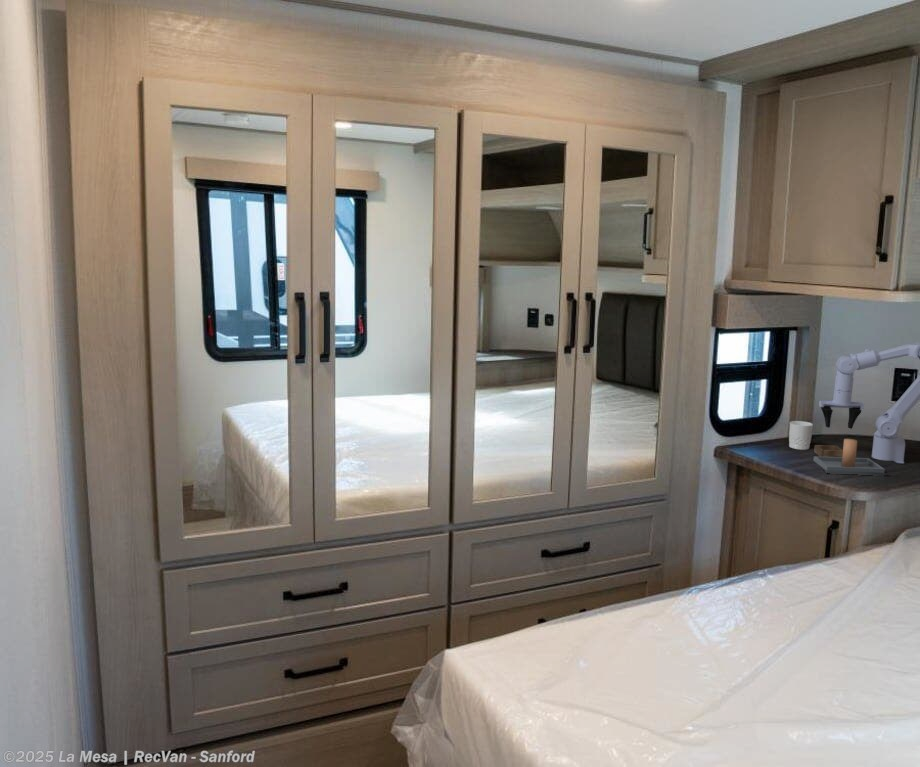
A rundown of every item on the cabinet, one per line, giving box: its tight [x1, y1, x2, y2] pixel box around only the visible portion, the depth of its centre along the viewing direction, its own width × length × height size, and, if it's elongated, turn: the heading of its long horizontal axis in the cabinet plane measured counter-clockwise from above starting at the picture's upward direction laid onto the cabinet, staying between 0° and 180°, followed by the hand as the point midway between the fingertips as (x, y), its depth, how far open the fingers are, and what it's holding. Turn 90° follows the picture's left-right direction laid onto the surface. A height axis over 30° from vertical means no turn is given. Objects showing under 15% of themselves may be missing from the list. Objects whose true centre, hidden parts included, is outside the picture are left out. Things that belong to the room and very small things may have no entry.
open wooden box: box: [813, 444, 843, 457], centre depth 272 cm, size 8×8×4 cm
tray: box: [813, 455, 886, 477], centre depth 257 cm, size 18×13×2 cm
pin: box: [841, 438, 858, 467], centre depth 256 cm, size 4×4×9 cm
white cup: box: [788, 420, 814, 451], centre depth 282 cm, size 8×8×10 cm
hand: (838, 427), depth 273 cm, fingers open, 7 cm apart
